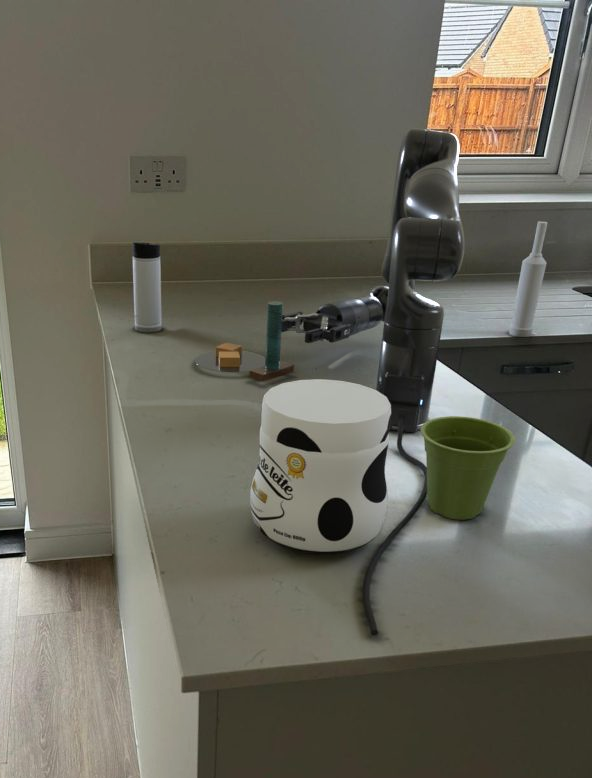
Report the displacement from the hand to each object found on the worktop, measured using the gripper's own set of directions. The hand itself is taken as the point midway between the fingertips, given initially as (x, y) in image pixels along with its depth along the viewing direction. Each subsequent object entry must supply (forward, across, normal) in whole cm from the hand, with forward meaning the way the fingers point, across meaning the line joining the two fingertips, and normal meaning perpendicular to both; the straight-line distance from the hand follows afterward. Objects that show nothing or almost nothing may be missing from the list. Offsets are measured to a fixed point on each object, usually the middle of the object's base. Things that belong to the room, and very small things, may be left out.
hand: (289, 333), depth 153 cm
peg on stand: (+5, 0, +8) cm, 10 cm away
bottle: (-63, +16, +9) cm, 66 cm away
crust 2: (+7, -10, +7) cm, 14 cm away
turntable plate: (+5, -12, +8) cm, 15 cm away
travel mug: (0, -44, +9) cm, 45 cm away
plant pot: (+25, +53, +9) cm, 59 cm away
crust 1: (+3, -14, +7) cm, 16 cm away
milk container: (+44, +45, +9) cm, 63 cm away
